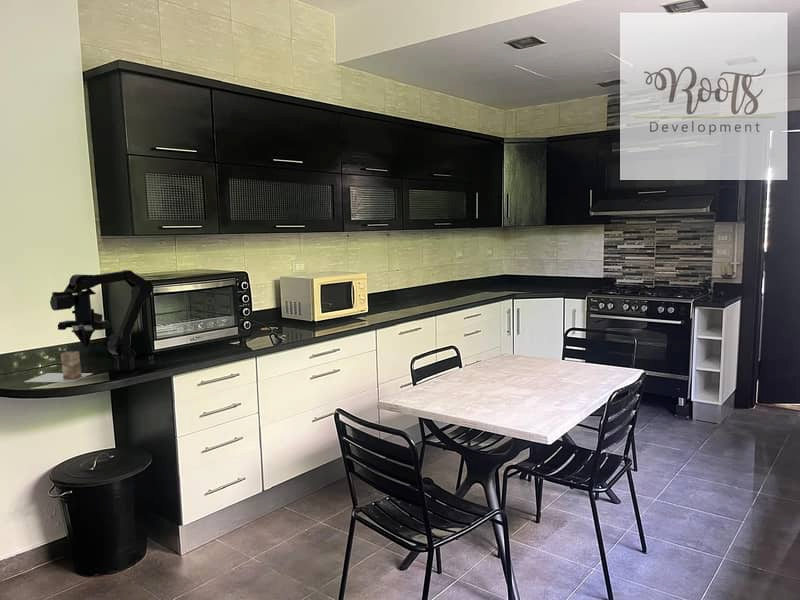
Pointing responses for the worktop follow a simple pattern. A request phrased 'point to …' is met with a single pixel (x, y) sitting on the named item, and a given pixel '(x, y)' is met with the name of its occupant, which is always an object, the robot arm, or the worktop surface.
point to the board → (55, 378)
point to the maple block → (71, 365)
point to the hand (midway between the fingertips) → (86, 347)
